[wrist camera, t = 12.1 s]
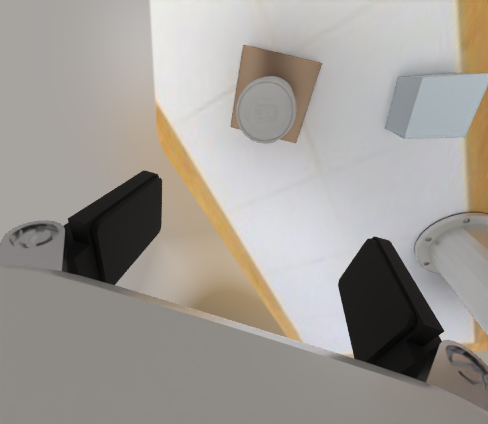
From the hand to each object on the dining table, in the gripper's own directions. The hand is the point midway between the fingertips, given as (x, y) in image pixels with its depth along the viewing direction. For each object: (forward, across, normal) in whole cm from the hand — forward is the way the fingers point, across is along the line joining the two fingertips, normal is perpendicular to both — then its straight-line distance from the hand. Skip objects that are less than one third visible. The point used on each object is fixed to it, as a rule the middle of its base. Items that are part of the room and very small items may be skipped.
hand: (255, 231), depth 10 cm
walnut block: (+26, +2, -3) cm, 27 cm away
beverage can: (+23, +2, -3) cm, 23 cm away
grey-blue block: (+27, -16, -7) cm, 32 cm away
